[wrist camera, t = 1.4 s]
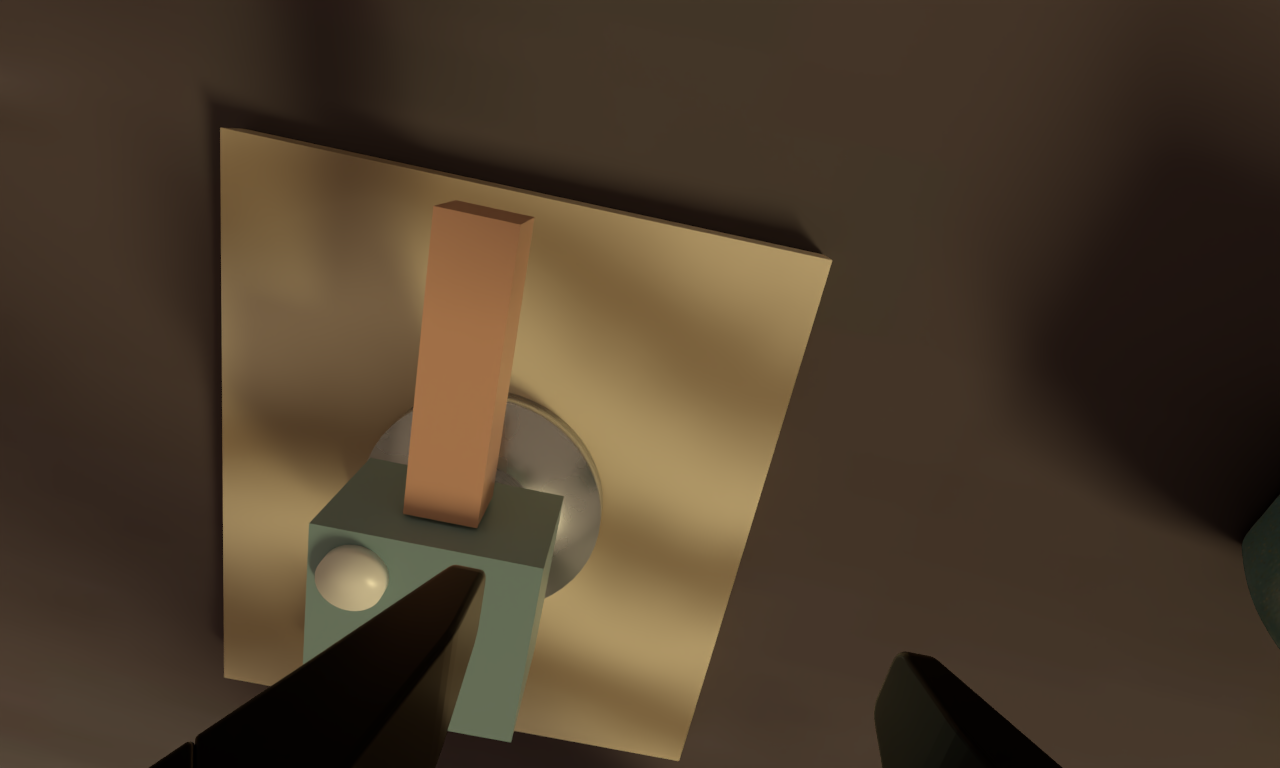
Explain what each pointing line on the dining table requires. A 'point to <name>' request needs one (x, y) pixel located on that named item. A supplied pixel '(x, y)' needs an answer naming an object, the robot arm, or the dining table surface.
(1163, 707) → the dining table surface
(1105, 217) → the dining table surface
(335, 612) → the cap
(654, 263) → the board
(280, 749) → the robot arm
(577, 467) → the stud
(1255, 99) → the dining table surface
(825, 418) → the dining table surface
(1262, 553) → the flower pot
